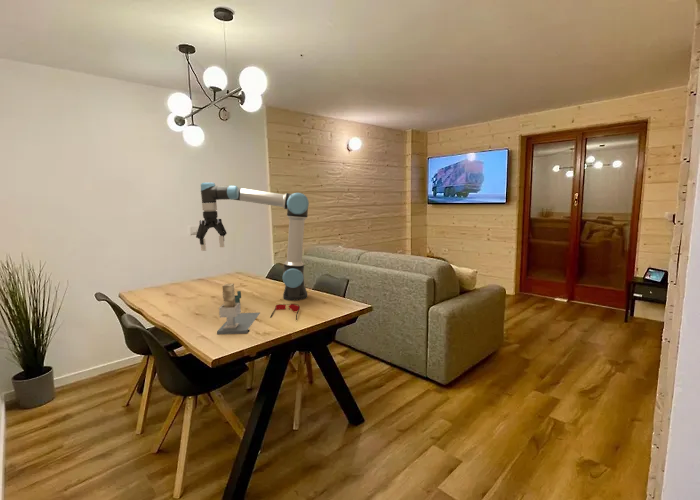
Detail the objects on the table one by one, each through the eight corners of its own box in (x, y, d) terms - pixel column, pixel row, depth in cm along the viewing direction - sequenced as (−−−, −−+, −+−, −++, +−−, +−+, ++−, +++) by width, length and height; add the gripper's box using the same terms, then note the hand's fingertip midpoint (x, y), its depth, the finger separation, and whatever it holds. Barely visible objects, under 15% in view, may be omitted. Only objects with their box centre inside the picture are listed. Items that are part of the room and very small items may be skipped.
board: (260, 315, 192) (260, 312, 192) (247, 333, 166) (247, 330, 166) (234, 316, 192) (234, 313, 191) (217, 334, 166) (216, 331, 166)
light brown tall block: (236, 311, 172) (233, 283, 170) (233, 314, 168) (230, 285, 166) (227, 312, 172) (225, 283, 170) (224, 314, 168) (222, 285, 166)
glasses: (300, 311, 197) (300, 302, 197) (296, 321, 181) (296, 312, 180) (275, 312, 197) (274, 303, 196) (269, 322, 181) (268, 313, 180)
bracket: (242, 306, 210) (241, 291, 209) (226, 308, 205) (224, 293, 204) (238, 302, 217) (237, 288, 216) (223, 305, 213) (221, 290, 212)
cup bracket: (241, 323, 175) (240, 302, 173) (237, 329, 167) (235, 307, 166) (226, 324, 175) (224, 303, 173) (220, 329, 167) (218, 307, 166)
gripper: (221, 209, 211) (224, 245, 214) (186, 212, 189) (190, 251, 192) (231, 209, 208) (233, 245, 211) (196, 211, 186) (200, 252, 189)
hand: (213, 248), depth 201 cm, fingers open, 13 cm apart
